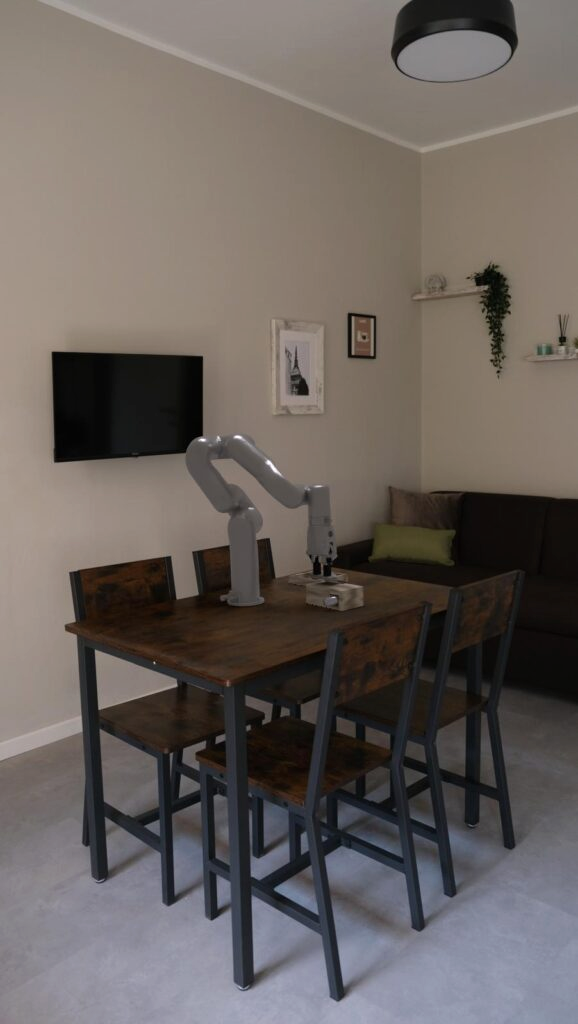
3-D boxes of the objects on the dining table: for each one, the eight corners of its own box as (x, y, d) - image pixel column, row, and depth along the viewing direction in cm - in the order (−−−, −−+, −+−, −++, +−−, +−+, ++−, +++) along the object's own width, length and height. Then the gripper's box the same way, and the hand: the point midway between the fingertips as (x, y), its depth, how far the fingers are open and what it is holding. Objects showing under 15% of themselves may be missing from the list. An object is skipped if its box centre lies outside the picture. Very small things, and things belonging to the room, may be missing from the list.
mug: (333, 586, 310) (319, 563, 311) (317, 594, 317) (303, 572, 318) (344, 578, 315) (331, 555, 316) (328, 586, 322) (315, 564, 323)
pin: (330, 610, 267) (330, 596, 267) (321, 608, 270) (320, 594, 270) (363, 602, 277) (362, 589, 277) (353, 600, 280) (353, 587, 280)
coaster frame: (316, 588, 305) (316, 580, 305) (288, 583, 316) (288, 575, 316) (347, 582, 316) (347, 574, 315) (319, 577, 327) (319, 569, 327)
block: (342, 611, 269) (341, 587, 268) (306, 603, 282) (305, 581, 281) (363, 605, 276) (363, 583, 275) (327, 598, 288) (327, 576, 287)
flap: (322, 578, 275) (323, 576, 275) (308, 576, 280) (308, 573, 280) (341, 583, 281) (341, 580, 281) (326, 580, 286) (327, 578, 286)
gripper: (345, 521, 273) (348, 576, 275) (310, 518, 285) (313, 571, 287) (329, 524, 268) (332, 580, 270) (294, 521, 280) (297, 574, 282)
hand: (322, 575), depth 279 cm, fingers closed on flap, 4 cm apart
